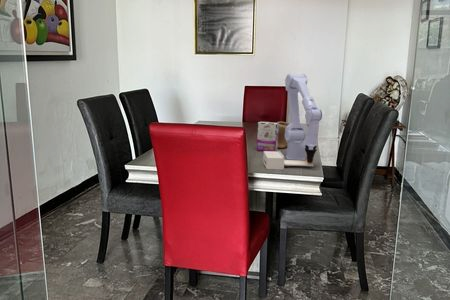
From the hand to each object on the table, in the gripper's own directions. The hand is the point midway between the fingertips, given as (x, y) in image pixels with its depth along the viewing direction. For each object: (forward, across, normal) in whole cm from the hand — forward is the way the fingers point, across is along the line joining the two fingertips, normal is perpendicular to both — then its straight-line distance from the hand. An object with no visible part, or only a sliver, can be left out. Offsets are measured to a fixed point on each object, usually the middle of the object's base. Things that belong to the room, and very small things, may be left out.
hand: (309, 161), depth 196 cm
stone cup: (+3, -42, -17) cm, 46 cm away
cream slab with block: (+1, +1, -6) cm, 6 cm away
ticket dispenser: (+3, +4, -17) cm, 18 cm away
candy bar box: (+3, -27, -24) cm, 36 cm away
